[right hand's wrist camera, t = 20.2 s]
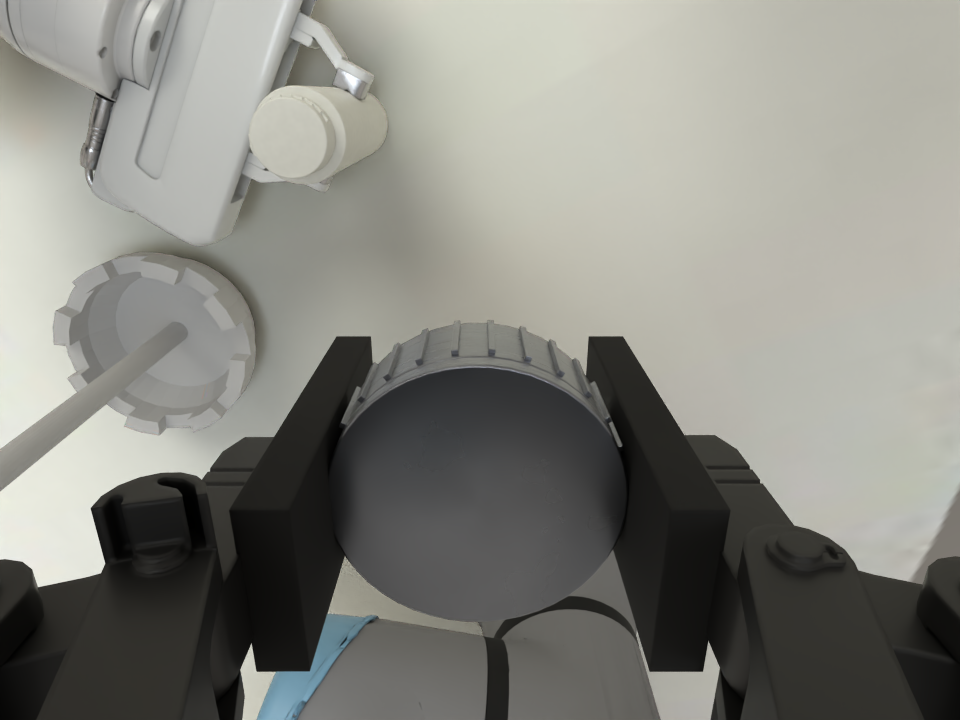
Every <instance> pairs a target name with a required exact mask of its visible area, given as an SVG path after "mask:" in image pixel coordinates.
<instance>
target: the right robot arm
mask: <svg viewBox="0 0 960 720" xmlns="http://www.w3.org/2000/svg"><path fill="white" fill-rule="evenodd" d="M372 364H373V362H372V347H371V337H336V338H335V340H334V342H333V343H332V345H331V346H330V348H329V350H328V351H327V353H326V355H325V356H324V358H323V359H322V361H321V363H320V364H319V366H318V367H317V369H316V371H315V372H314V374H313V375H312V377H311V379H310V380H309V382H308V384H307V385H306V387H305V388H304V390H303V392H302V393H301V395H300V396H299V398H298V400H297V401H296V403H295V404H294V406H293V408H292V409H291V411H290V412H289V414H288V416H287V417H286V419H285V421H284V422H283V424H282V425H281V427H280V429H279V430H278V432H277V433H276V435H275V437H245V438H243V439H242V440H240V441H239V442H237V443H235V444H234V445H232V446H231V447H229V448H228V449H226V450H225V451H223V452H222V453H221V455H220V456H219V457H218V459H217V460H216V462H215V463H214V464H213V466H212V467H211V468H210V472H207V474H206V475H205V476H204V478H203V479H202V480H201V479H200V478H198V477H197V476H194V475H190V474H186V473H181V472H179V473H159V474H154V475H149V476H144V477H139V478H137V479H134V480H131V481H129V482H126V483H124V484H121V485H119V486H117V487H115V488H114V489H112V490H111V491H109V492H107V493H106V494H104V495H103V496H101V497H100V498H99V499H98V501H97V502H96V503H95V504H94V505H93V506H92V507H91V511H92V515H93V519H94V522H95V526H96V530H97V534H98V537H99V541H100V545H101V549H102V552H103V556H104V560H105V566H104V568H103V570H102V573H101V574H97V575H94V576H90V577H86V578H81V579H76V580H72V581H67V582H62V583H57V584H52V585H47V586H43V587H37V583H36V580H35V577H34V574H33V571H32V569H31V568H30V567H28V566H27V565H26V564H24V563H23V562H20V561H13V560H6V559H4V560H0V720H242V716H243V706H244V697H245V695H244V689H243V682H242V677H241V672H240V669H241V666H242V664H243V662H244V659H245V657H246V655H247V652H248V650H249V647H250V645H251V643H252V647H253V653H254V659H255V665H256V671H257V672H276V673H275V675H274V678H273V680H272V682H271V684H270V687H269V689H268V692H267V694H266V696H265V699H264V701H263V704H262V707H261V709H260V712H259V714H258V717H257V720H660V716H659V713H658V710H657V706H656V703H655V699H654V696H653V693H652V689H651V686H650V682H649V679H648V675H647V672H646V669H645V665H644V662H643V658H642V655H641V652H640V649H639V645H638V641H637V638H636V630H637V631H638V634H639V638H640V641H641V644H642V648H643V651H644V654H645V658H646V661H647V664H648V668H649V671H650V672H703V668H704V662H705V657H706V651H707V645H708V641H709V643H710V645H711V648H712V650H713V652H714V655H715V657H716V659H717V662H718V664H719V666H720V672H719V677H718V682H717V688H716V693H715V699H714V704H713V710H712V715H711V720H960V557H948V558H941V559H937V560H936V561H935V562H934V563H932V564H931V565H930V566H929V567H928V569H927V573H926V576H925V579H924V582H923V585H921V584H916V583H912V582H907V581H902V580H897V579H892V578H887V577H882V576H877V575H873V574H869V573H865V572H862V571H858V569H857V567H856V565H855V563H854V561H853V560H852V559H851V557H850V556H849V555H848V553H847V552H846V551H845V549H843V548H842V547H840V546H839V545H838V544H836V543H835V542H834V541H832V540H831V539H829V538H828V537H825V536H823V535H821V534H819V533H816V532H814V531H812V530H810V529H806V528H802V527H798V526H794V525H793V523H792V522H791V521H790V519H789V518H788V517H787V515H786V514H785V513H784V511H783V510H782V509H781V507H780V506H779V505H778V503H777V502H776V501H775V499H774V498H773V497H772V495H771V494H770V493H769V491H768V490H767V489H766V487H765V486H764V485H763V484H760V479H759V478H758V477H757V475H756V474H755V473H754V471H753V470H750V466H749V465H748V463H747V462H746V461H745V459H744V458H743V457H742V455H741V454H740V453H739V451H738V450H737V449H735V448H734V447H732V446H731V445H729V444H728V443H726V442H725V441H723V440H721V439H720V438H718V437H717V436H715V435H684V434H683V432H682V431H681V429H680V428H679V426H678V424H677V423H676V421H675V420H674V418H673V416H672V415H671V413H670V412H669V410H668V408H667V407H666V405H665V404H664V402H663V400H662V399H661V397H660V395H659V394H658V392H657V391H656V389H655V387H654V386H653V384H652V383H651V381H650V379H649V378H648V376H647V375H646V373H645V371H644V370H643V368H642V366H641V365H640V363H639V362H638V360H637V358H636V357H635V355H634V354H633V352H632V350H631V349H630V347H629V346H628V344H627V342H626V341H625V339H624V337H589V341H588V356H587V371H586V377H587V378H588V379H589V381H590V382H591V383H592V382H594V381H595V382H596V384H597V386H598V388H599V391H600V393H601V396H602V398H603V400H604V403H605V405H606V407H607V409H608V412H609V414H610V416H611V419H612V421H613V423H614V426H615V428H616V431H617V433H618V435H619V438H620V440H621V442H622V445H623V448H624V451H621V455H622V458H623V461H624V464H625V469H626V474H627V479H628V504H627V513H626V517H625V521H624V524H623V528H622V531H621V533H620V536H619V538H618V540H617V543H616V545H615V547H614V548H613V550H612V552H611V553H610V555H609V557H608V558H607V560H606V561H605V562H604V564H603V565H602V566H601V567H600V568H599V570H598V571H597V572H596V573H595V574H594V575H593V576H592V577H591V578H590V579H589V580H588V581H587V582H586V583H585V584H584V585H583V586H581V587H580V588H578V589H577V590H576V591H574V592H573V593H572V594H570V595H569V596H567V597H566V598H564V599H562V600H560V601H559V602H557V603H555V604H553V605H551V606H548V607H546V608H544V609H542V610H539V611H537V612H534V613H530V614H527V615H524V616H521V617H516V618H511V619H506V620H498V621H488V622H478V623H479V625H480V626H481V628H482V631H483V635H484V636H479V635H473V634H467V633H461V632H455V631H449V630H443V629H437V628H431V627H425V626H419V625H413V624H408V623H402V622H396V621H390V620H384V619H379V618H378V616H375V615H370V616H366V617H355V616H346V615H337V614H327V613H328V610H329V606H330V603H331V600H332V596H333V593H334V590H335V586H336V583H337V580H338V576H339V573H340V570H341V566H342V563H343V560H344V556H345V555H344V553H343V551H342V549H341V548H340V546H339V544H338V542H337V540H336V537H335V535H334V529H333V520H332V510H331V500H330V490H329V480H328V470H329V465H330V461H331V458H332V455H333V453H334V450H335V448H336V445H337V443H338V440H339V438H340V436H341V433H342V431H343V429H342V428H339V425H340V423H341V421H342V418H343V416H344V414H345V412H346V409H347V407H348V405H349V402H350V400H351V398H352V396H353V393H354V391H355V389H356V387H357V386H358V387H360V388H361V387H362V386H363V384H364V382H365V380H366V377H367V375H368V372H369V370H370V368H371V366H372Z"/></svg>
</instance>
